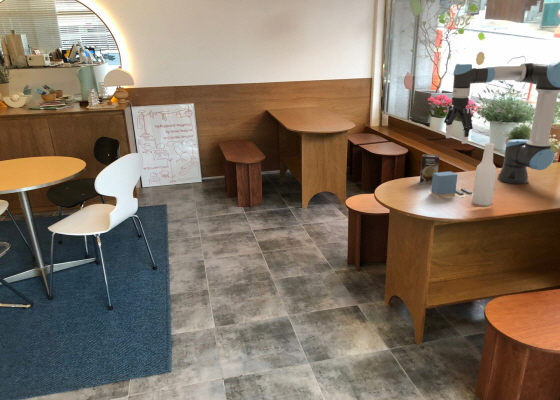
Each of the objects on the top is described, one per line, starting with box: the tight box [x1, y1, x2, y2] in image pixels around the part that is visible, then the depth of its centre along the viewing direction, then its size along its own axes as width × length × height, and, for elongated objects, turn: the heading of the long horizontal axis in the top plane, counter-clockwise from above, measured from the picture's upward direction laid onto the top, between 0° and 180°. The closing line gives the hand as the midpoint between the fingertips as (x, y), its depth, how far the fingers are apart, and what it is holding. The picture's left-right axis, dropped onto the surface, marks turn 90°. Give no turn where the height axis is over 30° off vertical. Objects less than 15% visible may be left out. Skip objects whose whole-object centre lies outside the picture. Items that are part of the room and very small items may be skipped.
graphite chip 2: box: [460, 187, 473, 194], centre depth 233 cm, size 2×7×1 cm, turn 13°
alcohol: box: [471, 142, 497, 208], centre depth 214 cm, size 9×9×30 cm
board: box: [427, 187, 473, 200], centre depth 231 cm, size 22×12×1 cm, turn 103°
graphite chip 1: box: [455, 188, 464, 195], centre depth 232 cm, size 2×7×1 cm, turn 13°
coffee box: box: [419, 153, 440, 184], centre depth 249 cm, size 9×6×16 cm
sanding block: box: [430, 171, 458, 198], centre depth 228 cm, size 10×6×11 cm, turn 103°
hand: (456, 140), depth 222 cm, fingers open, 13 cm apart
